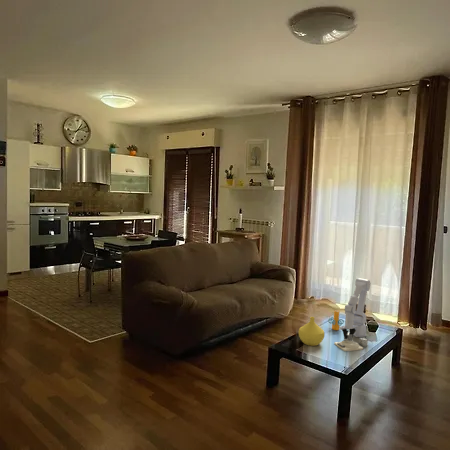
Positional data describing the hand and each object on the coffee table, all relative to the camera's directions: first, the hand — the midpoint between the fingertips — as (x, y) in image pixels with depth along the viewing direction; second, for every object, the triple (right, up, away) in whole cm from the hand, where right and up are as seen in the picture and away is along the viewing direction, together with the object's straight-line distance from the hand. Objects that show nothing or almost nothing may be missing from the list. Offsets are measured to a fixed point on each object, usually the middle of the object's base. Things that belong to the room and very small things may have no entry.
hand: (348, 338), depth 288 cm
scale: (-3, -2, -12) cm, 13 cm away
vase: (-30, -1, -9) cm, 31 cm away
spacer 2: (+8, -3, -9) cm, 12 cm away
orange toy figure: (-3, 0, +23) cm, 23 cm away
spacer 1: (0, -1, 0) cm, 1 cm away
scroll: (+19, 0, +34) cm, 39 cm away
